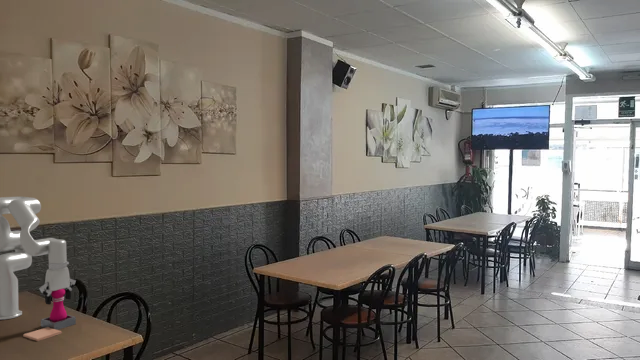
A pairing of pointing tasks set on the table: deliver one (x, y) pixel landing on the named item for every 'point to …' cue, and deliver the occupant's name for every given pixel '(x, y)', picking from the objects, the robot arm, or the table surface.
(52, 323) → the holder sleeve
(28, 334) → the plate
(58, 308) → the pepper mill
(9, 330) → the table surface
